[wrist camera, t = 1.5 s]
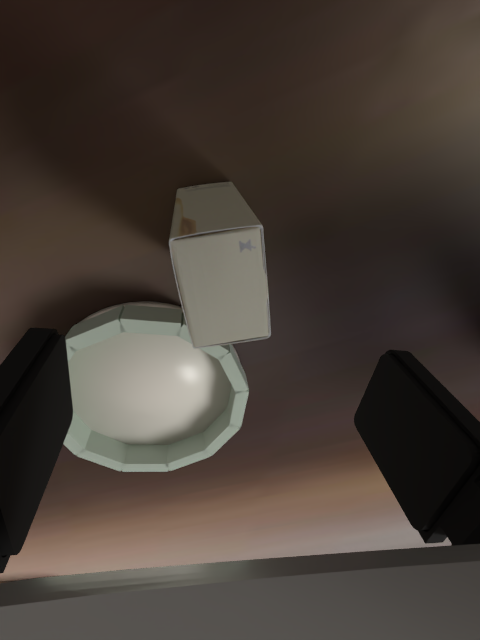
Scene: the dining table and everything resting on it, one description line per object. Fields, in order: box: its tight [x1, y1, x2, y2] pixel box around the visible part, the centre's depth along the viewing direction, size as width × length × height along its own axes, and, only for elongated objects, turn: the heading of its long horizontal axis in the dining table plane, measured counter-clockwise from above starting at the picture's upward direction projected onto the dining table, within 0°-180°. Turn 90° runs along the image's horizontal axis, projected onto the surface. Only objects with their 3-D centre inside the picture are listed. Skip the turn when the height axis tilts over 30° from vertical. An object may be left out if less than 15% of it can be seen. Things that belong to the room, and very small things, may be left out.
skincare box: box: [169, 182, 271, 349], centre depth 21 cm, size 6×4×12 cm
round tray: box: [63, 301, 249, 472], centre depth 31 cm, size 18×18×3 cm
